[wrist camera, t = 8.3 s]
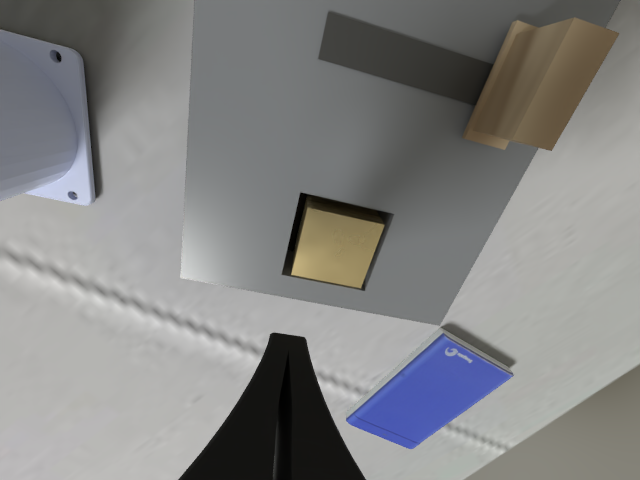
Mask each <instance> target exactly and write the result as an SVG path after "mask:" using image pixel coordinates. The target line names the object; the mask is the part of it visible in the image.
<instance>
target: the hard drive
mask: <svg viewBox="0 0 640 480" xmlns="http://www.w3.org/2000/svg"><path fill="white" fill-rule="evenodd" d="M513 376H514V375H513V373H512V371H511V370H510V369H509V367H508V366H506V365H504V364H502V363H501V362H499V361H497V360H496V359H494V358H492V357H490V356H489V355H487V354H485V353H484V352H482V351H480V350H478V349H477V348H475V347H473V346H472V345H470V344H468V343H466V342H465V341H463V340H461V339H460V338H458V337H456V336H454V335H453V334H451V333H449V332H448V331H446V330H444V329H443V328H441V327H440V328H439V329H438V330H437V331H436V332H434V333H433V334H432V335H431V336H430V337H429V338H428V339H427V340H426V341H425V342H423V343H422V344H421V345H420V346H419V347H418V348H417V349H416V350H415V351H413V352H412V353H411V354H410V355H409V356H408V357H407V358H406V359H404V360H403V361H402V362H401V363H400V364H399V365H398V366H397V367H396V368H395V369H393V370H392V371H391V372H390V373H389V374H388V375H387V376H386V377H385V378H383V379H382V380H381V381H380V382H379V383H378V384H377V385H376V386H375V387H374V388H372V389H371V390H370V391H369V392H368V393H367V394H366V395H365V396H364V397H362V398H361V399H360V400H359V401H358V402H357V403H356V404H355V405H354V406H353V407H351V408H350V409H349V410H348V411H347V412H346V421H347V422H348V423H349V424H351V425H352V426H355V427H357V428H359V429H362V430H364V431H367V432H369V433H372V434H374V435H377V436H379V437H382V438H384V439H386V440H389V441H391V442H394V443H396V444H399V445H401V446H404V447H406V448H409V449H413V448H415V447H416V446H417V445H419V444H420V443H421V442H422V441H424V440H425V439H426V438H428V437H429V436H431V435H432V434H433V433H435V432H436V431H438V430H439V429H440V428H442V427H443V426H444V425H446V424H447V423H449V422H450V421H452V420H453V419H454V418H456V417H457V416H459V415H460V414H461V413H463V412H464V411H466V410H467V409H468V408H470V407H471V406H472V405H474V404H475V403H477V402H478V401H479V400H481V399H482V398H484V397H485V396H486V395H488V394H489V393H490V392H492V391H493V390H495V389H496V388H498V387H499V386H500V385H502V384H503V383H504V382H506V381H507V380H509V379H510V378H511V377H513Z"/></svg>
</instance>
